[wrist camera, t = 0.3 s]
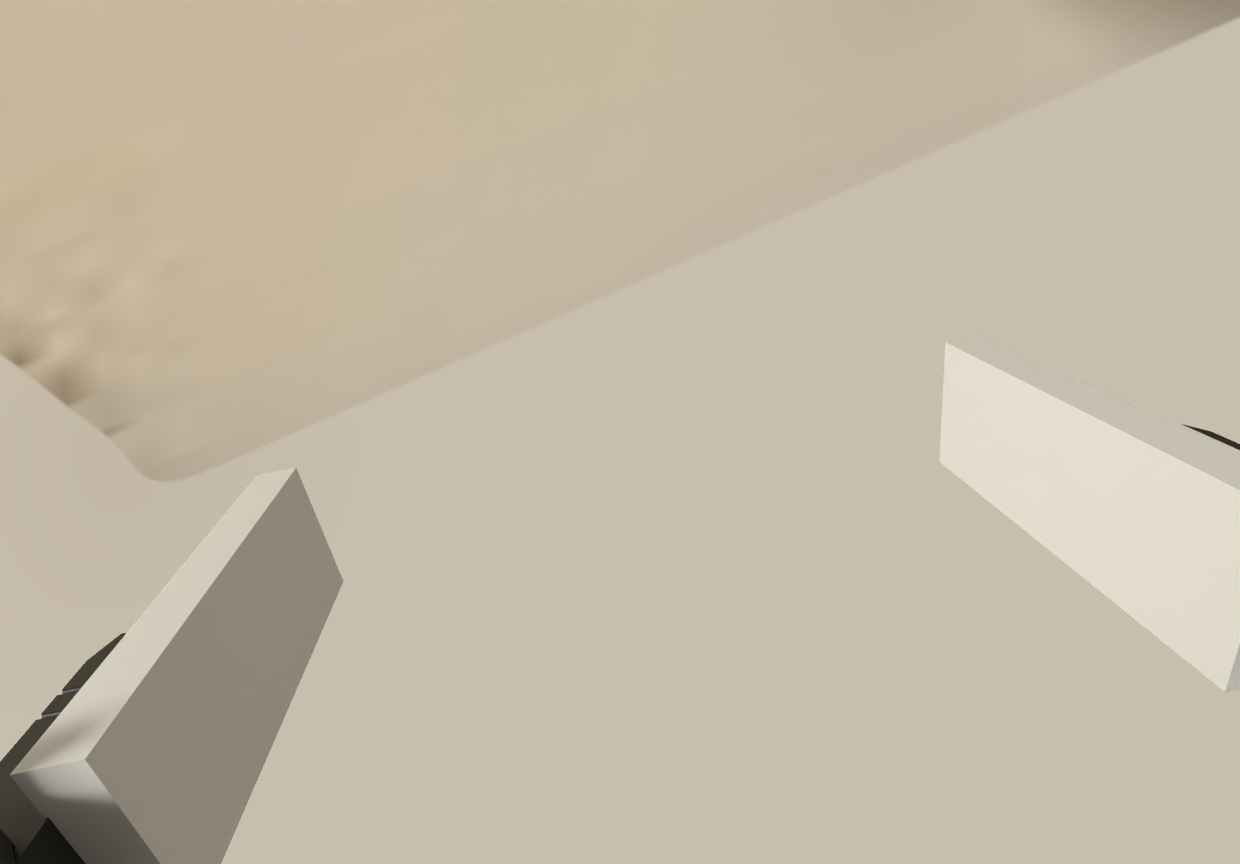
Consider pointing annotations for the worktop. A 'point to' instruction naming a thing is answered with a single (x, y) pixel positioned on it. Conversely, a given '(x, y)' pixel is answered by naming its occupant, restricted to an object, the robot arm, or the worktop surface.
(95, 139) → the worktop surface
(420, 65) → the worktop surface
